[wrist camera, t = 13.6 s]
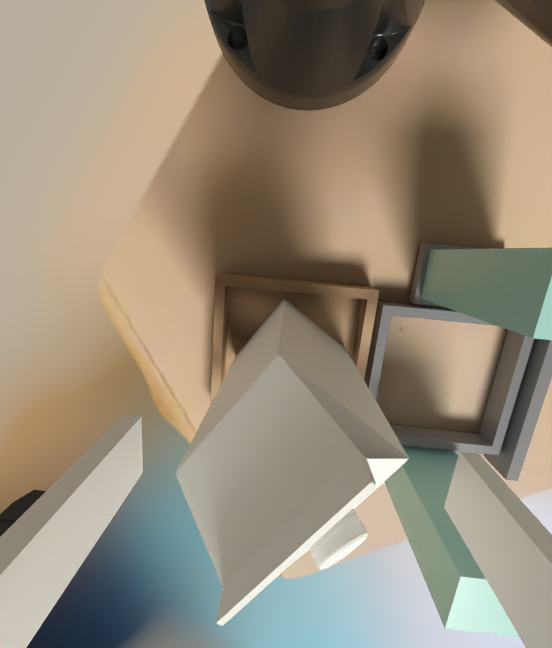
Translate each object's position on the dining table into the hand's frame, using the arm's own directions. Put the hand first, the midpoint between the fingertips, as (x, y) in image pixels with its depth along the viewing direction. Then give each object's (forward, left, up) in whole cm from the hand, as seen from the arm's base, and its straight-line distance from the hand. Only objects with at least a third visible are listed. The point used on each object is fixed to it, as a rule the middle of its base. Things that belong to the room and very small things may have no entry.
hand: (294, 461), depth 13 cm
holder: (+1, +13, -16) cm, 21 cm away
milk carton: (0, 0, -15) cm, 15 cm away
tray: (0, 0, -16) cm, 16 cm away
